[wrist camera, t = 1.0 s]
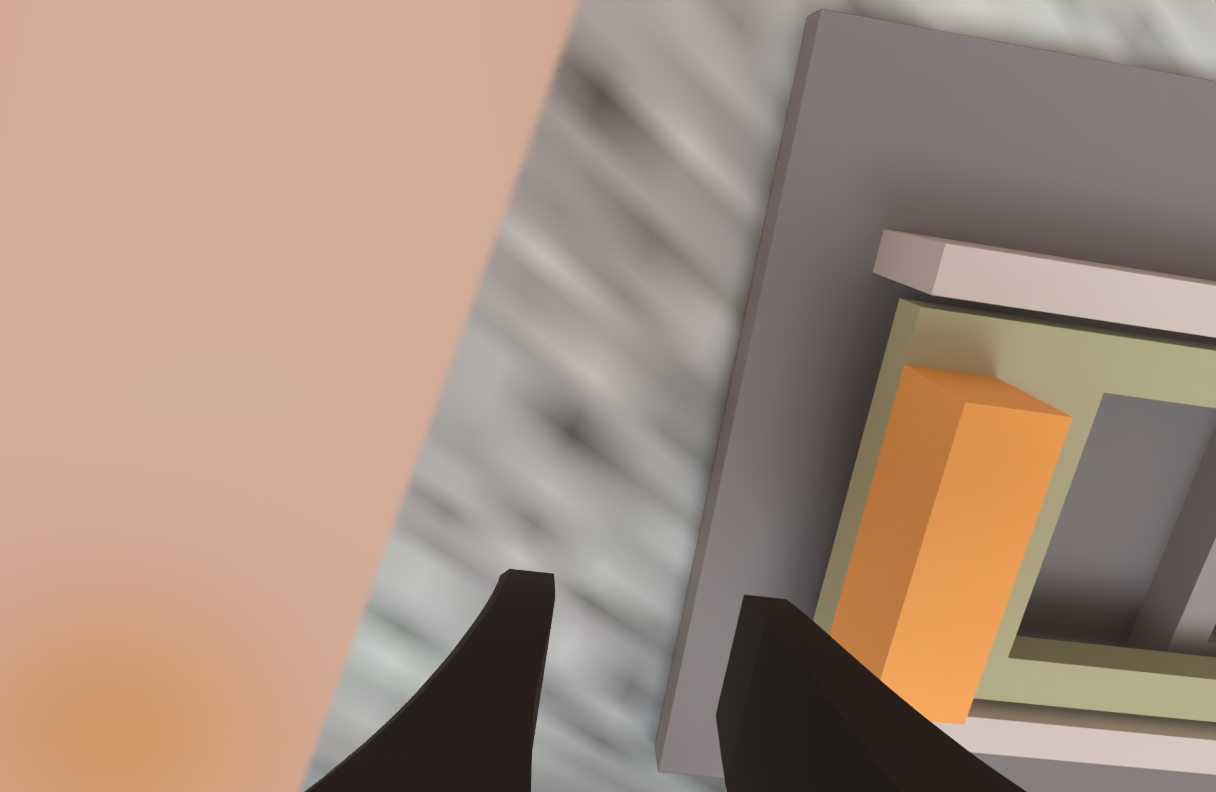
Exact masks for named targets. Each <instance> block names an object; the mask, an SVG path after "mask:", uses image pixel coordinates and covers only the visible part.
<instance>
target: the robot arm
mask: <svg viewBox="0 0 1216 792" xmlns="http://www.w3.org/2000/svg"><path fill="white" fill-rule="evenodd" d="M554 602H555V582H554V574H551V573H542V572H533V571H524V570H515V569H509V570H507V571H506V572H505V573H503V574H502V575H500V578H499V581H498V583H497V585H496V587H495V589H494V591H493V593H492V595H491V597H490V599H489V600H488V602H487V604H486V605H485V607H484V608H483V610H482V611H481V613H480V614H479V616H478V617H477V619H476V620H475V622H474V623H473V624H472V626H471V627H470V628H469V630H468V631H467V632H466V634H465V635H464V636H463V638H462V639H461V640H460V642H459V643H458V644H457V646H456V647H455V649H454V650H453V651H452V652H451V654H450V655H449V656H448V657H447V658H446V660H445V661H444V662H443V663H442V664H441V665H440V666H439V668H438V669H437V670H436V671H435V672H434V673H433V674H432V676H431V677H430V678H429V679H428V680H427V681H426V682H425V683H424V685H423V686H422V687H421V688H420V689H419V690H418V691H417V693H416V694H415V695H414V696H413V697H412V698H411V699H410V700H409V701H408V702H407V703H406V704H405V705H404V706H403V707H402V708H401V709H400V710H399V711H398V712H397V713H396V714H395V715H394V716H393V717H392V718H391V719H390V720H389V721H388V722H387V723H386V724H385V725H383V726H382V727H381V728H380V729H379V730H378V731H377V732H376V733H375V734H374V735H373V736H372V737H370V738H369V739H368V740H367V741H366V742H365V743H364V744H363V745H362V746H360V747H359V748H358V749H357V750H356V751H354V752H353V753H352V754H351V755H350V756H348V757H347V758H346V759H345V760H344V761H342V762H341V763H340V764H339V765H337V766H336V767H335V768H334V769H333V770H331V771H330V772H329V773H328V774H327V775H325V776H324V777H323V778H322V779H320V780H319V781H318V782H317V783H315V784H314V785H313V786H311V787H310V788H309V789H308V790H306V791H305V792H531V764H532V748H533V741H534V734H535V728H536V721H537V715H538V708H539V701H540V695H541V688H542V682H543V675H544V668H545V662H546V655H547V649H548V642H549V635H550V629H551V622H552V616H553V609H554ZM716 722H717V729H718V737H719V744H720V752H721V759H722V765H723V771H724V778H725V784H726V788H727V792H1027V791H1025V790H1024V789H1022V788H1021V787H1019V786H1018V785H1016V784H1015V783H1013V782H1012V781H1010V780H1009V779H1007V778H1006V777H1005V776H1003V775H1002V774H1000V773H999V772H997V771H996V770H994V769H993V768H991V767H990V766H988V765H987V764H986V763H984V762H983V761H982V760H980V759H979V758H977V757H976V756H975V755H973V754H972V753H971V752H969V751H968V750H967V749H965V748H964V747H963V746H961V745H960V744H959V743H957V742H956V741H955V740H954V739H952V738H951V737H950V736H948V735H947V734H946V733H945V732H943V731H942V730H941V729H939V728H938V727H937V726H936V725H934V724H933V723H932V722H931V721H929V720H928V719H927V718H925V717H924V716H923V715H922V714H920V713H919V712H918V711H917V710H915V709H914V708H913V707H912V706H911V705H909V704H908V703H907V702H906V701H905V700H903V699H902V698H901V697H900V696H898V695H897V694H896V693H895V692H894V691H893V690H891V689H890V688H889V687H888V686H887V685H885V684H884V683H883V682H882V681H881V680H880V679H879V678H877V677H876V676H875V675H874V674H873V673H872V672H870V671H869V670H868V669H867V668H866V667H865V666H864V665H862V664H861V663H860V662H859V661H858V660H857V659H856V658H855V657H853V656H852V655H851V654H850V653H849V652H848V651H847V650H846V649H844V648H843V647H842V646H841V645H840V644H839V643H838V642H837V641H835V640H834V639H833V638H832V637H831V636H830V635H829V634H828V633H826V632H825V631H824V630H823V629H822V628H821V627H820V626H818V625H817V624H816V623H815V622H814V621H813V620H812V619H810V618H809V617H808V616H807V615H806V614H805V613H803V612H802V611H801V610H800V609H799V608H797V607H796V606H795V605H793V604H792V603H791V602H789V601H788V600H787V599H781V598H772V597H763V596H753V595H744V596H743V600H742V605H741V609H740V613H739V618H738V622H737V626H736V630H735V635H734V639H733V643H732V647H731V652H730V656H729V660H728V664H727V669H726V673H725V677H724V681H723V686H722V690H721V694H720V699H719V703H718V707H717V711H716Z"/></svg>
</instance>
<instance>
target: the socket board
mask: <svg viewBox="0 0 1216 792" xmlns="http://www.w3.org/2000/svg"><path fill="white" fill-rule="evenodd" d="M899 298H902V299H909V300H916V301H922V302H929V303H936V304H942V305H949V306H956V307H963V308H969V309H976V310H983V311H989V312H996V313H1003V314H1010V315H1016V316H1023V317H1030V318H1036V319H1043V320H1050V321H1057V322H1063V323H1070V324H1077V325H1083V326H1090V327H1097V328H1104V329H1110V330H1117V331H1124V332H1130V333H1137V334H1144V335H1151V336H1157V337H1164V338H1171V339H1177V340H1184V341H1191V342H1198V343H1204V344H1211V345H1216V81H1210V80H1205V79H1199V78H1194V77H1188V76H1183V75H1178V74H1172V73H1167V72H1161V71H1156V70H1150V69H1145V68H1140V67H1134V66H1129V65H1123V64H1118V63H1112V62H1107V61H1102V60H1096V59H1091V58H1085V57H1080V56H1074V55H1069V54H1063V53H1058V52H1053V51H1047V50H1042V49H1036V48H1031V47H1025V46H1020V45H1015V44H1009V43H1004V42H998V41H993V40H987V39H982V38H977V37H971V36H966V35H960V34H955V33H949V32H944V31H939V30H933V29H928V28H922V27H917V26H911V25H906V24H900V23H895V22H890V21H884V20H879V19H873V18H868V17H862V16H857V15H852V14H846V13H841V12H835V11H830V10H824V9H821V10H819V11H817V12H815V13H814V14H812V15H810V16H809V17H807V21H806V25H805V30H804V35H803V40H802V45H801V49H800V54H799V59H798V64H797V68H796V73H795V78H794V83H793V88H792V92H791V97H790V102H789V107H788V111H787V116H786V121H785V126H784V131H783V135H782V140H781V145H780V150H779V155H778V159H777V164H776V169H775V174H774V178H773V183H772V188H771V193H770V198H769V202H768V207H767V212H766V217H765V221H764V226H763V231H762V236H761V241H760V245H759V250H758V255H757V260H756V264H755V269H754V274H753V279H752V284H751V288H750V293H749V298H748V303H747V308H746V312H745V317H744V322H743V327H742V331H741V336H740V341H739V346H738V351H737V355H736V360H735V365H734V370H733V374H732V379H731V384H730V389H729V394H728V398H727V403H726V408H725V413H724V417H723V422H722V427H721V432H720V437H719V441H718V446H717V451H716V456H715V460H714V465H713V470H712V475H711V480H710V484H709V489H708V494H707V499H706V504H705V508H704V513H703V518H702V523H701V527H700V532H699V537H698V542H697V547H696V551H695V556H694V561H693V566H692V570H691V575H690V580H689V585H688V590H687V594H686V599H685V604H684V609H683V613H682V618H681V623H680V628H679V633H678V637H677V642H676V647H675V652H674V656H673V661H672V666H671V671H670V676H669V680H668V685H667V690H666V695H665V700H664V704H663V709H662V714H661V719H660V723H659V728H658V733H657V738H656V743H655V752H656V759H657V766H658V772H661V773H672V774H684V775H696V776H707V777H719V778H724V771H723V765H722V759H721V752H720V744H719V737H718V729H717V722H716V711H717V707H718V703H719V699H720V694H721V690H722V686H723V681H724V677H725V673H726V669H727V664H728V660H729V656H730V652H731V647H732V643H733V639H734V635H735V630H736V626H737V622H738V618H739V613H740V609H741V605H742V600H743V596H744V595H753V596H763V597H772V598H781V599H787V600H788V601H789V602H791V603H792V604H793V605H795V606H796V607H797V608H799V609H800V610H801V611H802V612H803V613H805V614H806V615H807V616H808V617H809V618H810V619H812V620H813V619H814V615H815V611H816V608H817V604H818V600H819V597H820V593H821V589H822V585H823V582H824V578H825V574H826V570H827V567H828V563H829V559H830V556H831V552H832V548H833V544H834V541H835V537H836V533H837V529H838V526H839V522H840V518H841V515H842V511H843V507H844V503H845V500H846V496H847V492H848V488H849V485H850V481H851V477H852V474H853V470H854V466H855V462H856V459H857V455H858V451H859V447H860V444H861V440H862V436H863V433H864V429H865V425H866V421H867V418H868V414H869V410H870V406H871V403H872V399H873V395H874V392H875V388H876V384H877V380H878V377H879V373H880V369H881V365H882V362H883V358H884V354H885V351H886V347H887V343H888V339H889V336H890V332H891V328H892V324H893V321H894V317H895V313H896V310H897V306H898V302H899ZM1016 636H1023V637H1032V638H1041V639H1051V640H1060V641H1069V642H1079V643H1088V644H1097V645H1106V646H1116V647H1125V648H1134V649H1144V650H1153V651H1162V652H1172V653H1181V654H1190V655H1200V656H1209V657H1216V408H1210V407H1203V406H1196V405H1189V404H1182V403H1175V402H1168V401H1161V400H1153V399H1146V398H1139V397H1132V396H1125V395H1118V394H1111V393H1104V394H1103V396H1102V399H1101V402H1100V405H1099V407H1098V410H1097V413H1096V416H1095V418H1094V421H1093V424H1092V427H1091V430H1090V432H1089V435H1088V438H1087V441H1086V443H1085V446H1084V449H1083V452H1082V454H1081V457H1080V460H1079V463H1078V465H1077V468H1076V471H1075V474H1074V477H1073V479H1072V482H1071V485H1070V488H1069V490H1068V493H1067V496H1066V499H1065V501H1064V504H1063V507H1062V510H1061V513H1060V515H1059V518H1058V521H1057V524H1056V526H1055V529H1054V532H1053V535H1052V537H1051V540H1050V543H1049V546H1048V548H1047V551H1046V554H1045V557H1044V560H1043V562H1042V565H1041V568H1040V571H1039V573H1038V576H1037V579H1036V582H1035V584H1034V587H1033V590H1032V593H1031V595H1030V598H1029V601H1028V604H1027V607H1026V609H1025V612H1024V615H1023V618H1022V620H1021V623H1020V626H1019V629H1018V631H1017V634H1016ZM932 723H933V724H934V725H936V726H937V727H938V728H939V729H941V730H942V731H943V732H945V733H946V734H947V735H948V736H950V737H951V738H952V739H954V740H955V741H956V742H957V743H959V744H960V745H961V746H963V747H964V748H965V749H967V750H968V751H969V752H971V753H972V754H973V755H975V756H976V757H977V758H979V759H980V760H982V761H983V762H984V763H986V764H987V765H988V766H990V767H991V768H993V769H994V770H996V771H997V772H999V773H1000V774H1002V775H1003V776H1005V777H1006V778H1007V779H1009V780H1010V781H1012V782H1013V783H1015V784H1016V785H1018V786H1019V787H1021V788H1022V789H1024V790H1025V791H1027V792H1216V722H1208V721H1198V720H1188V719H1178V718H1168V717H1158V716H1148V715H1137V714H1127V713H1117V712H1107V711H1097V710H1087V709H1077V708H1067V707H1056V706H1046V705H1036V704H1026V703H1016V702H1006V701H996V700H986V699H975V698H974V699H973V702H972V705H971V707H970V710H969V713H968V716H967V719H966V722H965V724H964V725H962V724H951V723H941V722H932Z"/></svg>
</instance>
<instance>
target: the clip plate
mask: <svg viewBox="0 0 1216 792" xmlns="http://www.w3.org/2000/svg"><path fill="white" fill-rule="evenodd" d="M1104 393H1111V394H1118V395H1125V396H1132V397H1139V398H1146V399H1153V400H1161V401H1168V402H1175V403H1182V404H1189V405H1196V406H1203V407H1210V408H1216V345H1211V344H1204V343H1198V342H1191V341H1184V340H1177V339H1171V338H1164V337H1157V336H1151V335H1144V334H1137V333H1130V332H1124V331H1117V330H1110V329H1104V328H1097V327H1090V326H1083V325H1077V324H1070V323H1063V322H1057V321H1050V320H1043V319H1036V318H1030V317H1023V316H1016V315H1010V314H1003V313H996V312H989V311H983V310H976V309H969V308H963V307H956V306H949V305H942V304H936V303H929V302H922V301H916V300H909V299H902V298H899V302H898V306H897V310H896V313H895V317H894V321H893V324H892V328H891V332H890V336H889V339H888V343H887V347H886V351H885V354H884V358H883V362H882V365H881V369H880V373H879V377H878V380H877V384H876V388H875V392H874V395H873V399H872V403H871V406H870V410H869V414H868V418H867V421H866V425H865V429H864V433H863V436H862V440H861V444H860V447H859V451H858V455H857V459H856V462H855V466H854V470H853V474H852V477H851V481H850V485H849V488H848V492H847V496H846V500H845V503H844V507H843V511H842V515H841V518H840V522H839V526H838V529H837V533H836V537H835V541H834V544H833V548H832V552H831V556H830V559H829V563H828V567H827V570H826V574H825V578H824V582H823V585H822V589H821V593H820V597H819V600H818V604H817V608H816V611H815V615H814V619H813V621H814V622H815V623H816V624H817V625H818V626H820V627H821V628H822V629H823V630H824V631H825V632H826V633H828V634H829V635H830V636H831V637H832V638H833V639H834V640H835V641H837V642H838V643H839V644H840V645H841V646H842V647H843V648H844V649H846V650H847V651H848V652H849V653H850V654H851V655H852V656H853V657H855V658H856V659H857V660H858V661H859V662H860V663H861V664H862V665H864V666H865V667H866V668H867V669H868V670H869V671H870V672H872V673H873V674H874V675H875V676H876V677H877V678H879V679H880V680H881V681H882V682H883V683H884V684H885V685H887V686H888V687H889V688H890V689H891V690H893V691H894V692H895V693H896V694H897V695H898V696H900V697H901V698H902V699H903V700H905V701H906V702H907V703H908V704H909V705H911V706H912V707H913V708H914V709H915V710H917V711H918V712H919V713H920V714H922V715H923V716H924V717H925V718H927V719H928V720H929V721H931V722H941V723H951V724H962V725H964V724H965V722H966V719H967V716H968V713H969V710H970V707H971V705H972V702H973V699H974V698H975V699H986V700H996V701H1006V702H1016V703H1026V704H1036V705H1046V706H1056V707H1067V708H1077V709H1087V710H1097V711H1107V712H1117V713H1127V714H1137V715H1148V716H1158V717H1168V718H1178V719H1188V720H1198V721H1208V722H1216V657H1209V656H1200V655H1190V654H1181V653H1172V652H1162V651H1153V650H1144V649H1134V648H1125V647H1116V646H1106V645H1097V644H1088V643H1079V642H1069V641H1060V640H1051V639H1041V638H1032V637H1023V636H1016V634H1017V631H1018V629H1019V626H1020V623H1021V620H1022V618H1023V615H1024V612H1025V609H1026V607H1027V604H1028V601H1029V598H1030V595H1031V593H1032V590H1033V587H1034V584H1035V582H1036V579H1037V576H1038V573H1039V571H1040V568H1041V565H1042V562H1043V560H1044V557H1045V554H1046V551H1047V548H1048V546H1049V543H1050V540H1051V537H1052V535H1053V532H1054V529H1055V526H1056V524H1057V521H1058V518H1059V515H1060V513H1061V510H1062V507H1063V504H1064V501H1065V499H1066V496H1067V493H1068V490H1069V488H1070V485H1071V482H1072V479H1073V477H1074V474H1075V471H1076V468H1077V465H1078V463H1079V460H1080V457H1081V454H1082V452H1083V449H1084V446H1085V443H1086V441H1087V438H1088V435H1089V432H1090V430H1091V427H1092V424H1093V421H1094V418H1095V416H1096V413H1097V410H1098V407H1099V405H1100V402H1101V399H1102V396H1103V394H1104Z"/></svg>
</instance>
